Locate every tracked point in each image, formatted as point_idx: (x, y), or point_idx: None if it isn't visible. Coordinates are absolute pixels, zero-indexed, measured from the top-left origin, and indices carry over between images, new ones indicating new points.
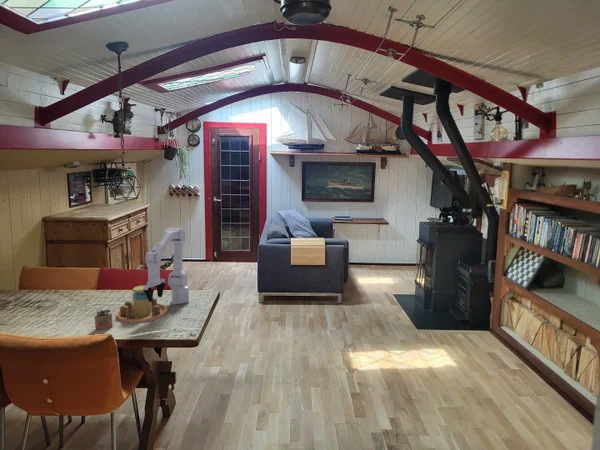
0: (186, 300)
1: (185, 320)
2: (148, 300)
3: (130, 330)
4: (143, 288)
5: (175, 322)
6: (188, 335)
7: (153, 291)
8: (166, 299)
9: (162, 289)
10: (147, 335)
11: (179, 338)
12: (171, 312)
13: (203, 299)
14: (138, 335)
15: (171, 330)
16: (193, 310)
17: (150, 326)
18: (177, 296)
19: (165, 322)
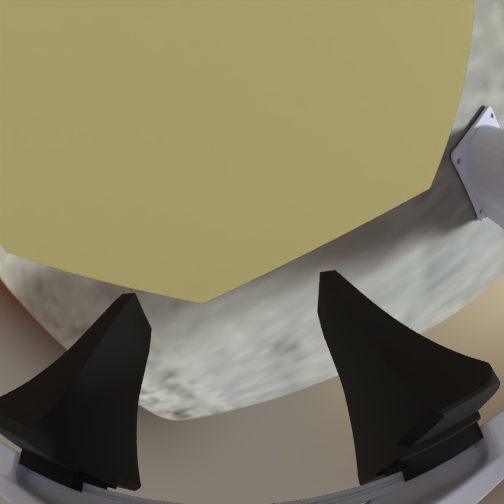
0: (487, 211)
1: (267, 357)
2: (116, 303)
3: None
4: (111, 96)
5: (224, 343)
6: (169, 410)
7: (132, 461)
8: (489, 71)
9: (351, 412)
10: (67, 331)
11: (138, 403)
12: (343, 235)
13: (501, 249)
14: (42, 304)
15: (154, 370)
16: (393, 308)
17: (111, 284)
18: (496, 194)
19: (195, 311)
